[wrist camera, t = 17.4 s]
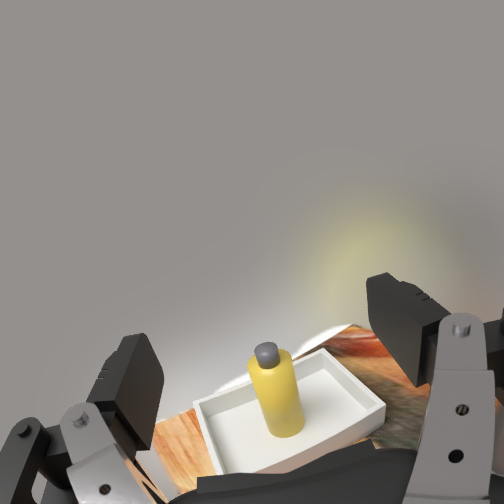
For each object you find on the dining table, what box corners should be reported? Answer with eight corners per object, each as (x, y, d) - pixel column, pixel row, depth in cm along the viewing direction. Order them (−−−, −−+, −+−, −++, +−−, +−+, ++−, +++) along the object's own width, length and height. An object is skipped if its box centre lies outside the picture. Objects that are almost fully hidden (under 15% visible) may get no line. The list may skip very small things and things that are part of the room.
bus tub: (326, 368, 49) (323, 347, 47) (384, 424, 34) (385, 404, 32) (202, 420, 43) (192, 401, 42) (231, 499, 28) (220, 484, 27)
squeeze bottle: (294, 405, 41) (277, 330, 37) (311, 427, 36) (296, 351, 32) (262, 419, 40) (237, 346, 35) (276, 443, 35) (252, 370, 31)
